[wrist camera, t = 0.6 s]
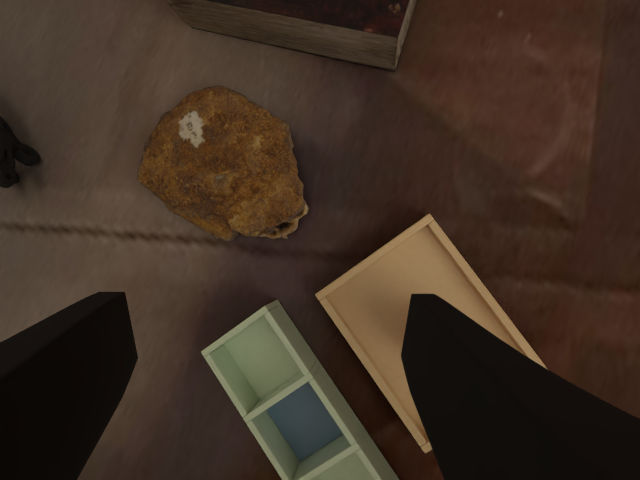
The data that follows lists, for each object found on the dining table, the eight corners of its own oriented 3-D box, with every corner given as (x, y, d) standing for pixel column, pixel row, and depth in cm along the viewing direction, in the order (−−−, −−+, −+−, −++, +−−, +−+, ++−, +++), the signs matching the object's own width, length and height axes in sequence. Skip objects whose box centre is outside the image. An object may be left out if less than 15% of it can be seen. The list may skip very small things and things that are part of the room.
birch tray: (542, 367, 27) (553, 376, 25) (422, 441, 28) (425, 454, 27) (426, 215, 28) (429, 213, 27) (318, 292, 30) (314, 294, 28)
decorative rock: (345, 150, 30) (199, 85, 33) (340, 131, 26) (173, 59, 29) (284, 272, 30) (143, 197, 33) (268, 273, 26) (109, 187, 29)
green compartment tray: (407, 490, 28) (410, 522, 25) (341, 529, 29) (336, 565, 26) (277, 299, 30) (264, 305, 27) (219, 340, 31) (200, 352, 28)
